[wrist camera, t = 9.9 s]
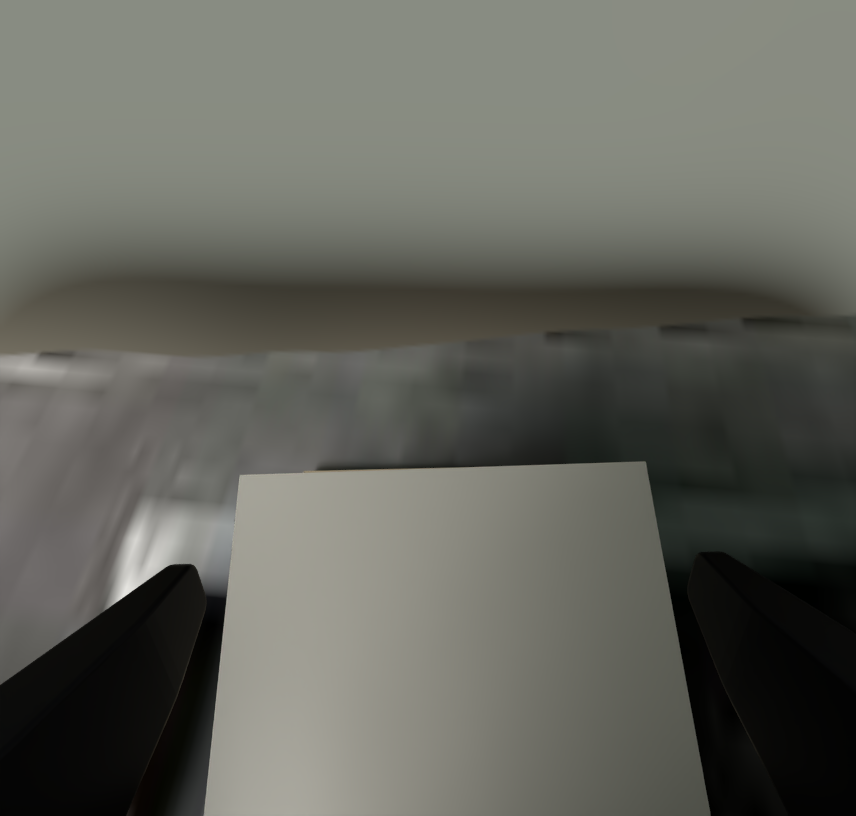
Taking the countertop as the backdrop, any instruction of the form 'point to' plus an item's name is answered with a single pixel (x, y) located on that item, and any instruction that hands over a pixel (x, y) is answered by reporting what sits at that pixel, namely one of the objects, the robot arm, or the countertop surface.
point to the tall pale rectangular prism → (451, 648)
